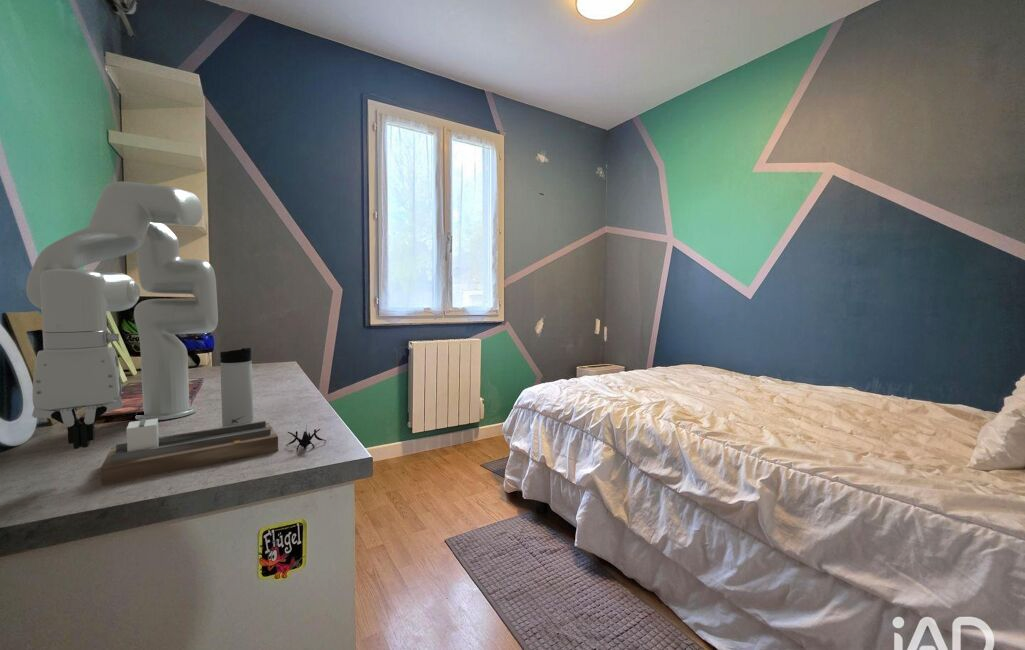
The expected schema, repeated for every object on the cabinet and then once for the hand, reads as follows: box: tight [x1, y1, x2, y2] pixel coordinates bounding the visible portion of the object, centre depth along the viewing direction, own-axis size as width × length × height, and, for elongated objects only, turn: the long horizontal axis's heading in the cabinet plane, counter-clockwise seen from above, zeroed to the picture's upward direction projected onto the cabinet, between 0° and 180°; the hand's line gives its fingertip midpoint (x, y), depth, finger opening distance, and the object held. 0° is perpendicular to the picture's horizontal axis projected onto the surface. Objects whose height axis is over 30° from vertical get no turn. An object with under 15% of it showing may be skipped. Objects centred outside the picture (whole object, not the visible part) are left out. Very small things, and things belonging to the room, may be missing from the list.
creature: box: [285, 423, 327, 451], centre depth 86 cm, size 8×5×8 cm
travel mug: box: [219, 347, 254, 428], centre depth 97 cm, size 6×7×20 cm
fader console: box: [100, 420, 279, 486], centre depth 80 cm, size 12×26×4 cm, turn 129°
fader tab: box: [126, 418, 160, 452], centre depth 74 cm, size 5×4×5 cm
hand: (82, 445), depth 69 cm, fingers closed
